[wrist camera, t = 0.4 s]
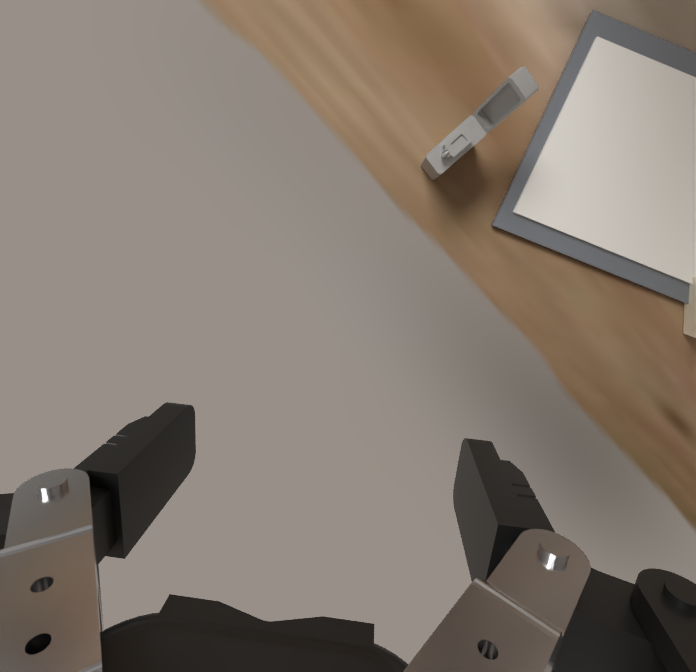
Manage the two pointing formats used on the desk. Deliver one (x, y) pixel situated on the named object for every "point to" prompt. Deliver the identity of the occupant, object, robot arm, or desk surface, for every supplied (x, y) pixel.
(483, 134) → the lighter
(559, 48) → the desk surface
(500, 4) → the desk surface
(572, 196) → the clipboard
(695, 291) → the cream rectangular slab
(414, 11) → the desk surface
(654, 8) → the desk surface
